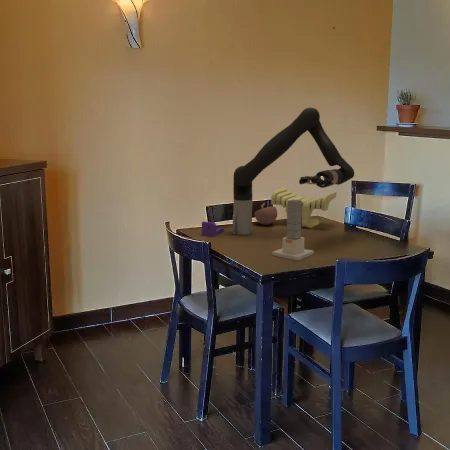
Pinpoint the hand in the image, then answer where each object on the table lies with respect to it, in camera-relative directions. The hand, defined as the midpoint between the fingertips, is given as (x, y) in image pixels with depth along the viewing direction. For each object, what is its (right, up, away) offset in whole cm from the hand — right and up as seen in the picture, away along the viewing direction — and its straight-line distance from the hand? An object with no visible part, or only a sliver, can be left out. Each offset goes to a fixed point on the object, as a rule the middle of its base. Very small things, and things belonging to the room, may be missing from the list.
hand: (308, 182), depth 251 cm
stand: (-7, -31, -2) cm, 32 cm away
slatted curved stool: (+5, -18, +57) cm, 60 cm away
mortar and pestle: (-15, -18, +56) cm, 61 cm away
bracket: (-42, -23, +36) cm, 60 cm away
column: (-7, -30, -2) cm, 31 cm away
